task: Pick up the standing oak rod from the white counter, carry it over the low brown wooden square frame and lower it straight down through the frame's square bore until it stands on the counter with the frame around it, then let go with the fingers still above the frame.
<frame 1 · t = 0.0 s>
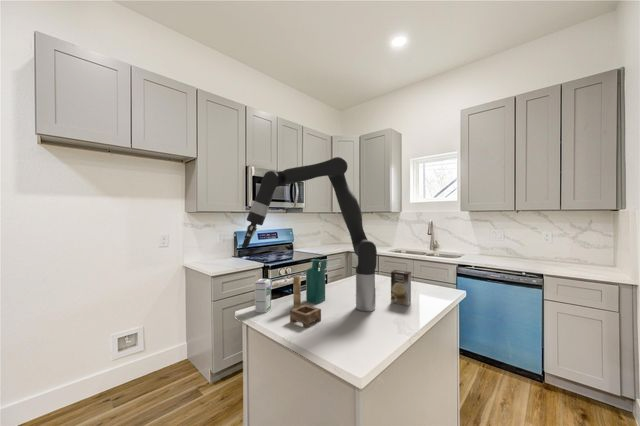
hand: (244, 246, 119), 31 cm above the countertop, tool tilted 20°, fingers open, 8 cm apart
brown wooden square frame: (305, 321, 114), on the countertop
coffee box: (400, 302, 138), on the countertop
teal bottle: (316, 301, 141), on the countertop
syrup box: (263, 310, 127), on the countertop
rod: (297, 309, 128), on the countertop
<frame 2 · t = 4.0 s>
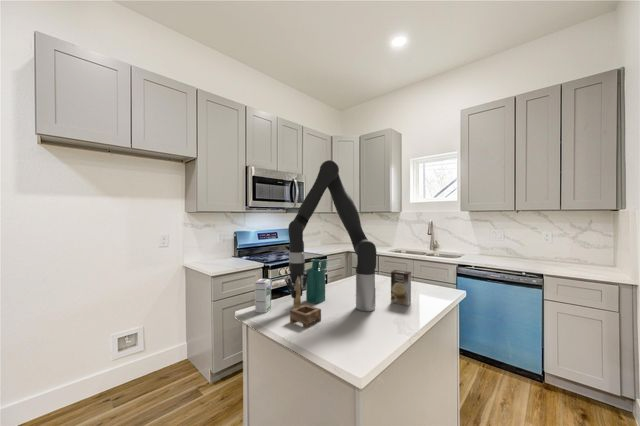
hand: (297, 296, 128), 6 cm above the countertop, tool pointing down, fingers closed on rod, 3 cm apart
rod: (297, 309, 128), on the countertop, touching gripper
everything else where it was.
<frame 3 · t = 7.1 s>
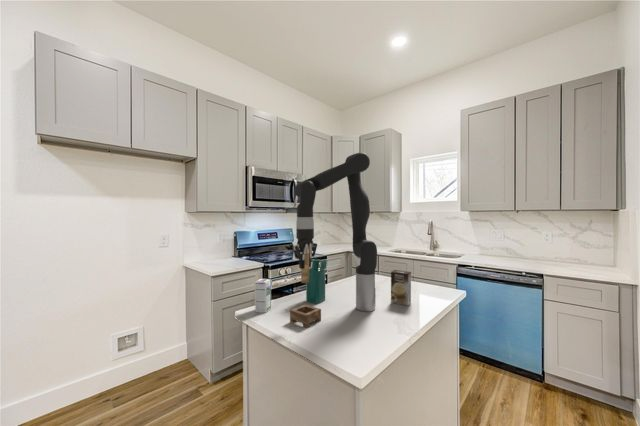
hand: (305, 267, 114), 23 cm above the countertop, tool pointing down, fingers closed on rod, 3 cm apart
rod: (305, 282, 114), point 17 cm above the countertop, touching gripper
everything else where it was.
when the fingers open (7 cm above the countertop, at t = 10.0 s): rod stays where it is, on the countertop.
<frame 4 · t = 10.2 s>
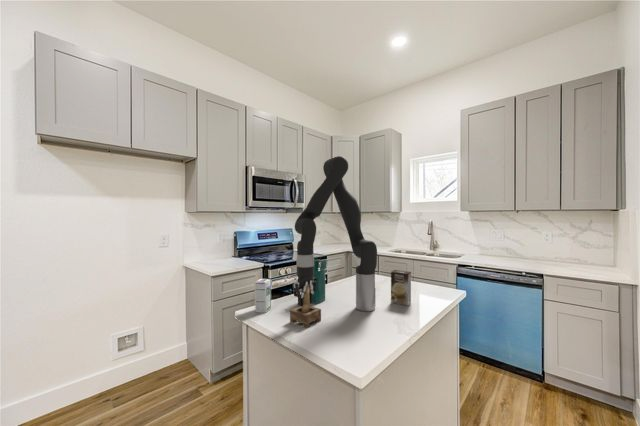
hand: (305, 304, 114), 7 cm above the countertop, tool pointing down, fingers open, 5 cm apart
rod: (305, 321, 114), on the countertop
everything else where it was.
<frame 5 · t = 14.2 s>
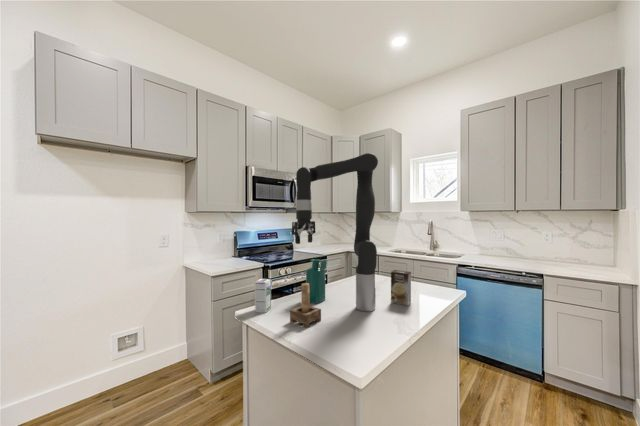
hand: (304, 243, 128), 32 cm above the countertop, tool pointing down, fingers open, 8 cm apart
nothing on the countertop moved.
at the end: rod 0.0 cm off-centre on the brown wooden square frame, point 0.0 cm above the brown wooden square frame's base; rod tilted 0°; brown wooden square frame moved 0.0 cm from its start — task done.
